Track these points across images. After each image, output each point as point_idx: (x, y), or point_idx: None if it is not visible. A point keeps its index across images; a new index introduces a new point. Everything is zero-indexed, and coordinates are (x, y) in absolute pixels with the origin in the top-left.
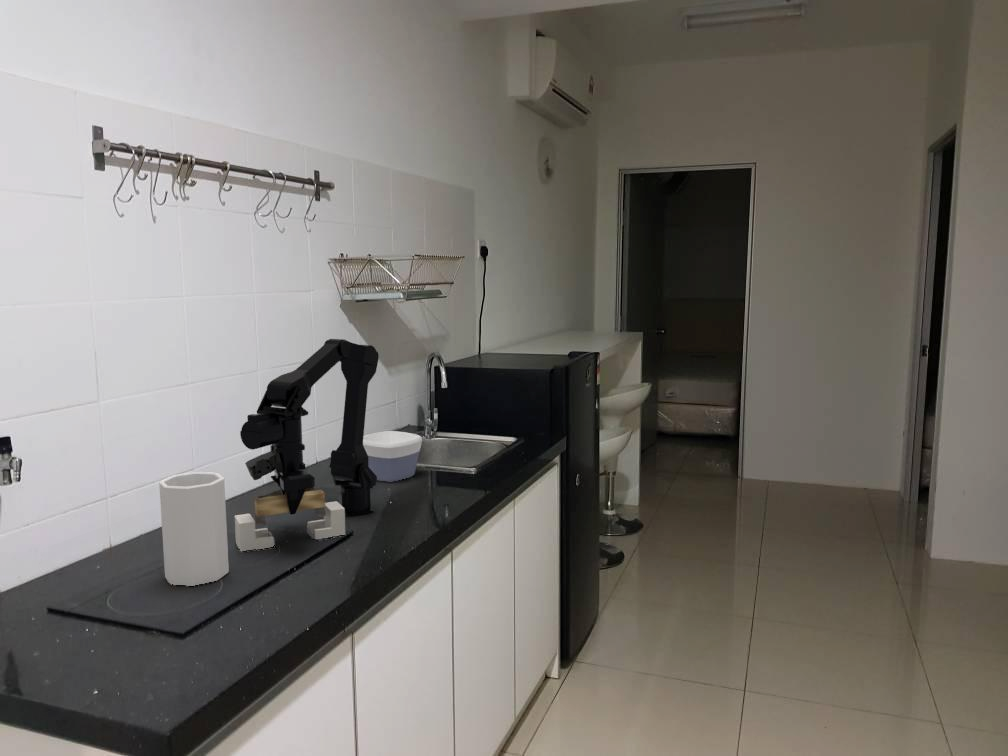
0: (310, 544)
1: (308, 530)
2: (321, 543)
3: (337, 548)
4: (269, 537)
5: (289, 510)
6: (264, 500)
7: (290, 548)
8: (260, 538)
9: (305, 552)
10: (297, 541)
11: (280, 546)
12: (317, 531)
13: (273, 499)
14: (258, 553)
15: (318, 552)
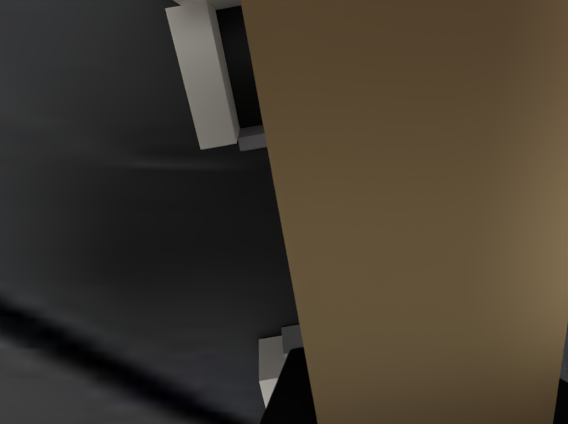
0: (215, 315)
1: None
2: (216, 359)
3: (129, 413)
4: (208, 119)
5: (283, 374)
6: (355, 174)
7: (177, 222)
8: (201, 47)
9: (96, 291)
10: (283, 260)
11: (226, 171)
12: (260, 385)
13: (347, 331)
14: (125, 28)
15: (86, 344)
